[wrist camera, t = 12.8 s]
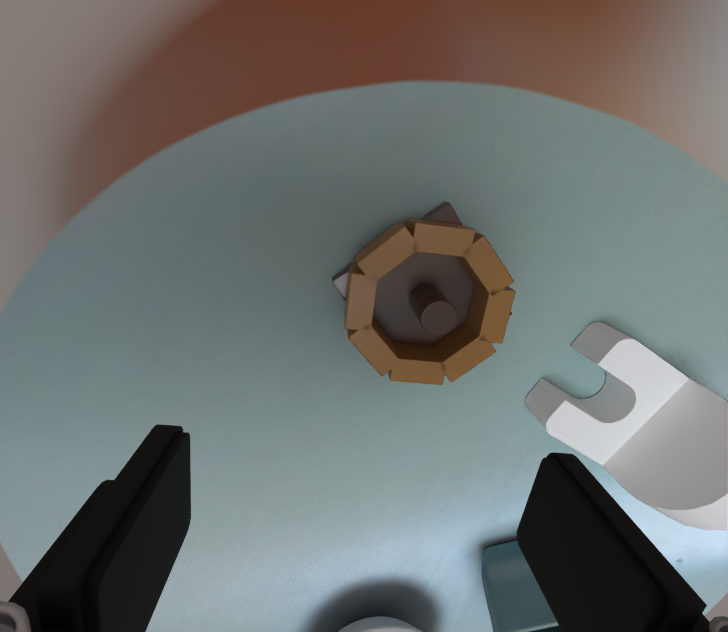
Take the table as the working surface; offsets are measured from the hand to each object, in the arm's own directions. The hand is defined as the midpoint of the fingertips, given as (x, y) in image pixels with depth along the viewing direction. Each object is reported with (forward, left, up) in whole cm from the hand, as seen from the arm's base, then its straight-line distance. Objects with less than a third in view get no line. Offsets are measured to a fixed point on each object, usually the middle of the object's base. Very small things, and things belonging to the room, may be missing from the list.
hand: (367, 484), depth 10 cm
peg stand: (+4, +4, -20) cm, 21 cm away
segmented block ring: (+4, +4, -19) cm, 20 cm away
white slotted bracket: (+24, +14, -21) cm, 34 cm away
